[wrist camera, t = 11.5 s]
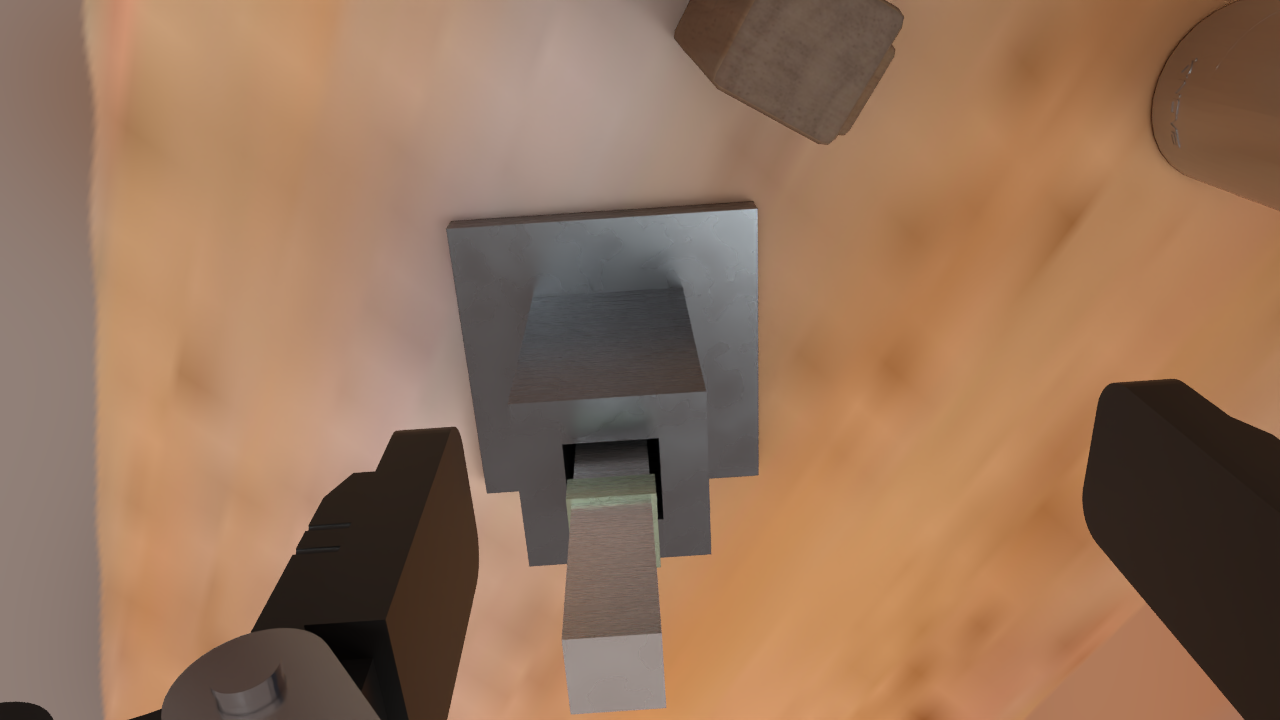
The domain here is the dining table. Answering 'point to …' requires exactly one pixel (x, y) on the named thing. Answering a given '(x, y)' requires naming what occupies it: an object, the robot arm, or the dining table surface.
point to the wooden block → (794, 56)
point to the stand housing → (612, 355)
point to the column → (612, 581)
